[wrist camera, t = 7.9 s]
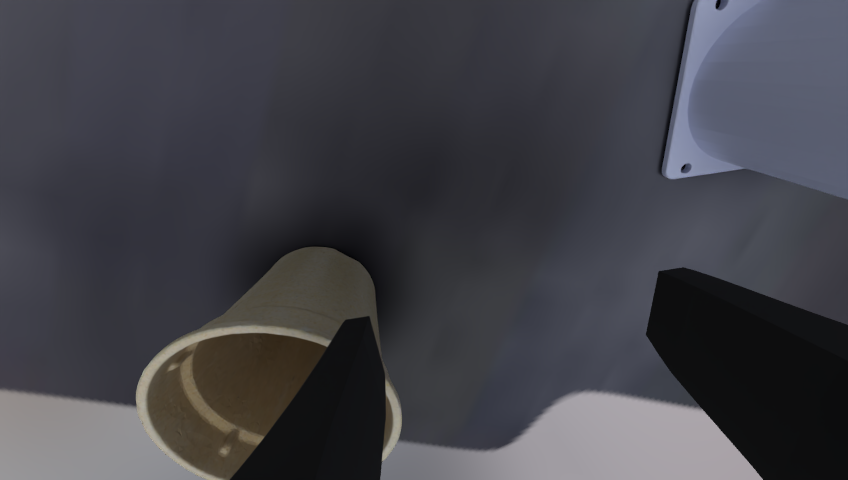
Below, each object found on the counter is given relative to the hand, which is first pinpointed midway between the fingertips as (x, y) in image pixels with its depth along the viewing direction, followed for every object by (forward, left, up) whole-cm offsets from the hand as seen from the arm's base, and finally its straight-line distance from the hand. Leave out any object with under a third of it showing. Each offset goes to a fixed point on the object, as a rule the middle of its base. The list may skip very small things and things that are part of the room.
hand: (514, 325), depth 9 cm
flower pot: (+9, +5, -11) cm, 14 cm away
